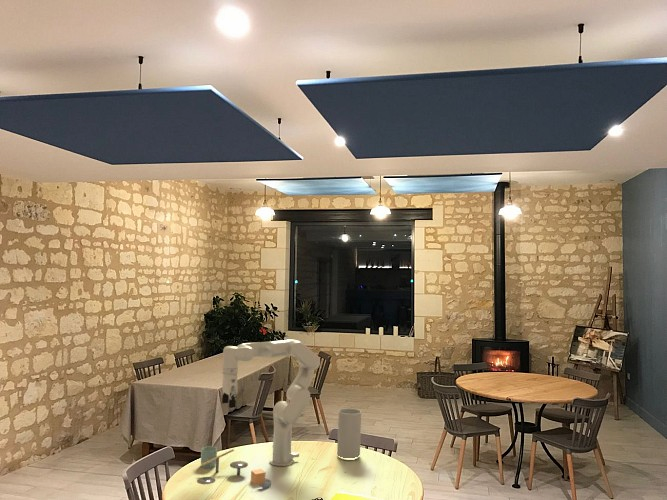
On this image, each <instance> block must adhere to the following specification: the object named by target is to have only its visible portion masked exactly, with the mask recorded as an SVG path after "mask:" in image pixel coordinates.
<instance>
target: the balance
mask: <svg viewBox="0 0 667 500" xmlns="http://www.w3.org/2000/svg"><path fill="white" fill-rule="evenodd" d="M232 452H235V449H234V448H232V449H230V450H228V451H226V452H224V453H222V454H219V455H217V457H215V458H213V459H211V460H209V461H207V462H205V463H202V464H201V463H200V466H201V467H202V466H203V465H205V464H207V463H209V462H211V461H214V460H216V465H215V473H216V474H217V473H219V467H220V466H219V465H220V459H221V458H222V457H224V456H227V455H228V454H230V453H232ZM248 465H249V463H248V462H246V461H241V460H238V461H233V462H231V463H229V467H231V468H232V469H236V476H241V469H246V468H247V467H248ZM196 482H197V483H198V484H200V485H209V484H213V483H215V482H216V478H214V477H211V476H205V477H199V478H198V479H197V480H196Z"/></svg>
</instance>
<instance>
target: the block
mask: <svg viewBox="0 0 667 500" xmlns="http://www.w3.org/2000/svg"><path fill="white" fill-rule="evenodd" d="M265 478H266V471H265V470H263V469H262V468H258V469H253V470H251V471H250V482H251V483H252V484H254V485H255V486H256V485H259V484H264V483H265Z"/></svg>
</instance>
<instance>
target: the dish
mask: <svg viewBox="0 0 667 500" xmlns="http://www.w3.org/2000/svg"><path fill="white" fill-rule="evenodd" d="M271 484H272V482H271V480H270V479H268V478H266V477H265V483H264V484H258V486H260V487H261V488H257V489H256V491H262V490H266V489H269V488H271Z"/></svg>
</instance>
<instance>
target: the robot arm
mask: <svg viewBox="0 0 667 500" xmlns="http://www.w3.org/2000/svg"><path fill="white" fill-rule="evenodd" d="M222 352H223V353H222V375H223V376H222V384H221V388H222V389H221V391H222V396H221V397H222V399H221V403H222V404H228V408H230V409H232V408H236V401H237V394H238V389H239V388H238V382H239V381H238V369H239V361H241V362H251V361H252V360H253V359H254V358H256V357H262V358H266V359H267V358H268V359H274V358H283V357H289V356H291V357H293V358H295V359H296V360H297V363H298V373H297V375H296V376H295V378H294V380H293V381H292V383H291V384H290V385H289V387H288V389H287V390H286V398H287V399H288V400H289V402H288V401H284V400H279V401H277V402H276V403H275V405H274V406H273V410H272V416H273V440H272V441H273V442H272V457H271V458H270V459H269V464H271V465H273V466H276V467H288V466H291V465H292V464H294V458H299V457H300V454H299V452H296V453H295V452H292V435H293V434H292V433H293V432H292V431H293V427H292V426H293V424H295V423H296V422H297V421H298V420H299V419H300V417H301V416H302V414H303V412H304V411H305V409H306V408H307V407H308V405H309V402H310V401H311V392H310V391H309V389H308V388H309V387H310V385H311V384H312V381H313V380H314V374H315V373H314V372H315V370H318V368H319V367H320V366H321V359H320V357H319V355H318V354H316V353H315V352H314V351H313V350H311V349H310V348H309V347H308V346H307V345H306V344H304V343H303V342H302V341H299V340H296V339H284V340H273V341H261V342H260V341H257V342H245V343H241V344H238V345H237V346H233V345H227V346H225V347H224V348H223V351H222Z"/></svg>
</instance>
